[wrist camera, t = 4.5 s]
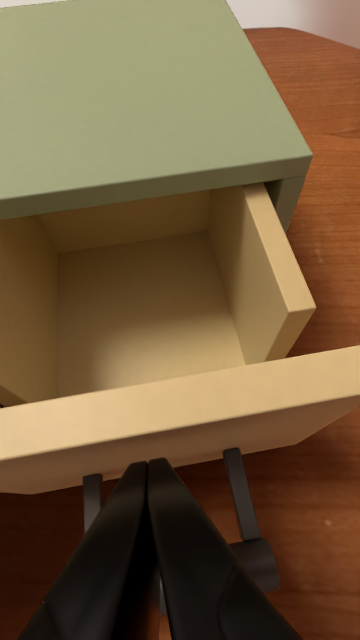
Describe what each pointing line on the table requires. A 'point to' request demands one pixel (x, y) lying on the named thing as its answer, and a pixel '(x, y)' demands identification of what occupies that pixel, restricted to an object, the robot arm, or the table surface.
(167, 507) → the robot arm
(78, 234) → the drawer
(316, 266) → the table surface
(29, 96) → the cabinet
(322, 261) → the table surface
